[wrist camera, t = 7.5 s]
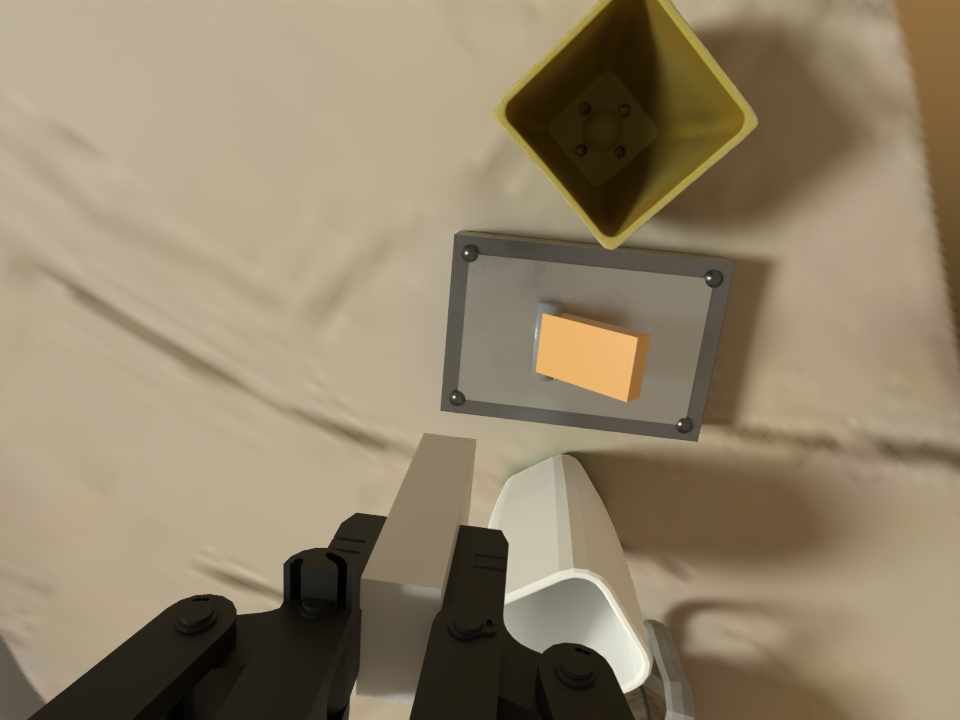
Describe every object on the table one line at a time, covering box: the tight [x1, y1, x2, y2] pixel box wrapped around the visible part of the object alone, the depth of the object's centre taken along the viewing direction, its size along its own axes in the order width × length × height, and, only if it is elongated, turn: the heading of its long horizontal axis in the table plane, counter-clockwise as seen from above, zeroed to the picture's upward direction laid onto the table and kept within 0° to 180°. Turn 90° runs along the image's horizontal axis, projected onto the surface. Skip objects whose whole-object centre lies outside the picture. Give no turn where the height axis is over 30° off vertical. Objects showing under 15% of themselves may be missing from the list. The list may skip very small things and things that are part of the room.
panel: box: [441, 231, 735, 442], centre depth 38 cm, size 11×16×3 cm
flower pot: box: [493, 0, 759, 250], centre depth 32 cm, size 9×9×9 cm
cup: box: [488, 454, 653, 693], centre depth 36 cm, size 7×7×15 cm
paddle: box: [530, 302, 651, 402], centre depth 34 cm, size 4×1×7 cm
